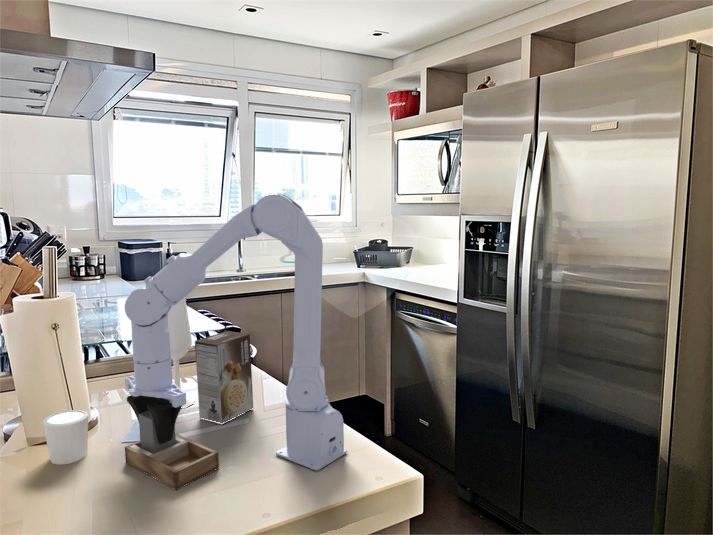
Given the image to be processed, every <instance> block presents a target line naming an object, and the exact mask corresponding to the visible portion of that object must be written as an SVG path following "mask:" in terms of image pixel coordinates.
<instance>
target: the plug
mask: <svg viewBox="0 0 713 535" xmlns="http://www.w3.org/2000/svg"><path fill="white" fill-rule="evenodd" d="M138 425H139V426H138V427H139V441H140V443H141V448H142V449H144V450H146V451H148V452H150V453H152V454H154V453H156V452H159V451H161V450H163V449H166V448H168V447H171V446H173V445H175V444H176V438H175V434H176V426H175V427H174V431H173V436H172V440H170V441H168V442H165V443H163V444H160V443H159V441H158V438H157V435H156V429H155V424H154V420H153V418H152V415H151V413H150V411H146V412H143V413H140V414H139V421H138Z"/></svg>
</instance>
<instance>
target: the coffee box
mask: <svg viewBox="0 0 713 535" xmlns="http://www.w3.org/2000/svg"><path fill="white" fill-rule="evenodd" d="M250 336H251V335H250V333H245V332H244V333H243V332H237V331H230V330H226V331H222V332H219V333H217V334H213V335H210V336H206V337H203V338H201V339H197V340H195V341H194V347H195V349H194V351H195V364H196V365H195V366H196V381H197V382H196V383H197V395H198V396H197V397H198V411H199V412H198V413H199V419H200V418H204V419H208V420H212V421H216V422H220V423H223V422H226V421H228V420H230V419H232V418H234V417H237V416H238V415H240V414H242V413H244V412H246V411H248V410H250V409H252V408H253V409H254V398H253V397H254V395H253V376H252V374H253V372H252V353H251V337H250Z"/></svg>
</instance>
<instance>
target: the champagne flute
mask: <svg viewBox="0 0 713 535" xmlns="http://www.w3.org/2000/svg"><path fill="white" fill-rule="evenodd" d="M167 315H168V328H169V335H170V352H171V361H172V362H173V363H172V364H173V365H172V366H173V379H174V380H173V382H174V383H175V384H176V385H177V386H178V387H179V389H180V390H181V391H182V389H181V373H180V372H181V370H180V359H181V358H183V357H184V356H185V355H186V354H187V353H188V352H189V350H190V349H191V347H192V345H193V340H192V333H191V327H190V320H189V314H188V308H187V302H186V297H184V298H183V299H182V300H181V301H180V302H178V303H177V304H176V305H173V306H172V307H171V309H170V311H169V312H168V313H167ZM194 401H195V399H193V398H190V397H188V396H186V404H185V405H183V406H182V407H186V406H189V405H191V404H193V403H194ZM194 404H195V403H194Z"/></svg>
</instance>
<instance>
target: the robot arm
mask: <svg viewBox="0 0 713 535" xmlns="http://www.w3.org/2000/svg"><path fill="white" fill-rule="evenodd" d="M263 233H264V234H265V235H268V236H269V237H271V238H274V239H277V240H278V241H280V242H281V243H282V244H283V245H284V246H285V247H286V248H288V250H290V252H292V253H293V255H294V292H293V293H294V295H293V301H294V303H293V305H294V306H293V349H292V350H293V352H292V353H293V354H292V364H291V365H290V368H289V372H288V381H287V382H288V383H287V385H286V390H285V394H286V395H285V396H286V399H285V429H286V430H285V434H286V436H285V437H286V438H285V439H286V445H285V446H284V447H282V448H280V449H279V450H277V451H275V455H276V456H279V457H281V458H282V459H283V458H284V459H286V460H288V461H291V462H294V463H295V464H298V465H300V466H303V467H305V468H308V469H310V470H314V471H319V470H321V469H323V467H326V466H328V465H329V464H330V463H332V462H334V461H335V460H337V459H339V458H340V457H342V456H343V455H345V454H347V452H348V451H347V449H346V448H345V438H344V436H345V434H344V433H345V432H344V429H345V428H344V425H345V424H344V418H343V415H342V413H341V412H340V411H339V410H337V409H335V408H333V407H332V405H331V404H330V402H329V397H328V395H326V385H325V384H326V382H325V378H326V371H325V367H324V365H323V363H322V362H321V361H322V360H321V345H322V344H321V339H322V338H321V337H322V335H321V334H322V333H321V332H322V299H323V298H322V296H323V294H322V293H323V292H322V291H323V288H322V287H323V258H324V257H323V255H324V254H323V251H324V250H323V248H324V247H323V246H324V245H323V239H322V237H321V236H320V234H319V232H318V231H317V229H316V227H315V226H314V224H312V222H311V220H310V218H309V217H308V216H307V214H306V213H305V210H304V209H303V207H302V206H301V205H300V204H298V203H297V202H296V201H294V200H293V199H292V198H291V197H289V196H288V195H286V194H283V193H271V194H266V195H264V196H262V197H260V199H258V201H257V202H256V203H255V204H251V205H249V206H248V207H247V208H245V209H243V210H241V211H240V212H239V213H237V214H235V215H234V216H232V217H231V218H230V220H228V221H227V222H226V223H225V224H224V225H223V226H221V227H220V228H219V229H218V230H217V231H216V232H215V233H214V234H213V235H212V236H211V237H210V238H209V239H207V240H206V241H205V242H204V243H202V245H200V246H199V248H197V249H196V250H195V251H194V252H193V253H184V252H183V253H179V254H177V255H176V256H175V255H170V257H168V258H167V259H166V260H165V263H167V264H166V265H165V266H163V268H161V269H160V270H159V271H158V272H156V273H155V275H153V276H148V277H147V278H145V279H144V280H143V282H144V283H145V285H144V286H142V287H141V288H140V287H139V288H136V289H134V290H133V291H131V292H130V294H129V296H128V297H127V298H126V300H125V303H124V313H125V315H126V317H127V318H128V320H130V323H131V340H132V341H131V344H132V357H133V369H134V370H133V371H134V372H133V373H134V374H132V375H130V376H127V377H125V378H124V381H125V382H124V383H125V389H126V390H129V391H128V394H129V395H128V396H127V397H126V402H127V403H128V404H129V406H130V407H131V408H132V410H133V412H134V414H135V416H136V419H137V421H138V422H139V414H140V413H143V412H146V411H150V413H151V415H152V418H153V420H154V424H155V429H156V435H157V438H158V441H159V443H160V444H163V443H165V442H168V441H170V440H172V436H173V431H174V427H175V428H176V423H177V418H178V416H179V414H180V411H181V410H182V409H181V407H182V406H183V405H185V404H186V397H187V393H186V392H185V391H183V390H182V389H181V390H180V389H179V387H178V386H177V385H176V384H175V383H174V380H173V373H172V372H173V371H172V359H171V352H170V335H169V328H168V315H167V313H168V312H169V311H170V309H171V307H172V306H173V305H176V304H177V303H178V302H180V301H181V300H182V299H183V298H184V297H185V298H186V297H187V296H188V295H189V294H191V293H192V292H193V291H194V290H195V289H197V287H199V286H200V285H201V284H202V283H204V281H205V280H206V273H207V272H206V271H207V268H208V267H209V266H210V265H212V264H213V263H214V262H216V260H218V259H219V258H221V256H222V255H224V254H225V253H226V252H228V251H229V250H230V249H232V248H233V247H234V246H235V245H236V244H237V243H239V242H240V241H241V240H242V239H248V238H253V237H257V236H259V235H260V234H263Z"/></svg>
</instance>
